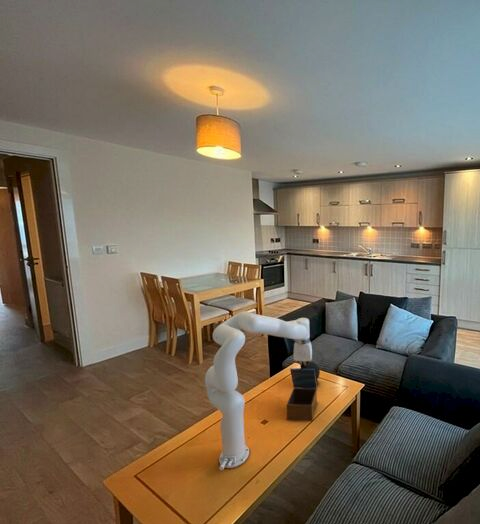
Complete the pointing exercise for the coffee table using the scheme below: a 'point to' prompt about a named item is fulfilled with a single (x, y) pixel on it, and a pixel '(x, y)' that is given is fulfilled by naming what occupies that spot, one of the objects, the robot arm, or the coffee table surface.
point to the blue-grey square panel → (303, 378)
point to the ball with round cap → (314, 366)
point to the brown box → (302, 404)
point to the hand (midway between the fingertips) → (303, 370)
